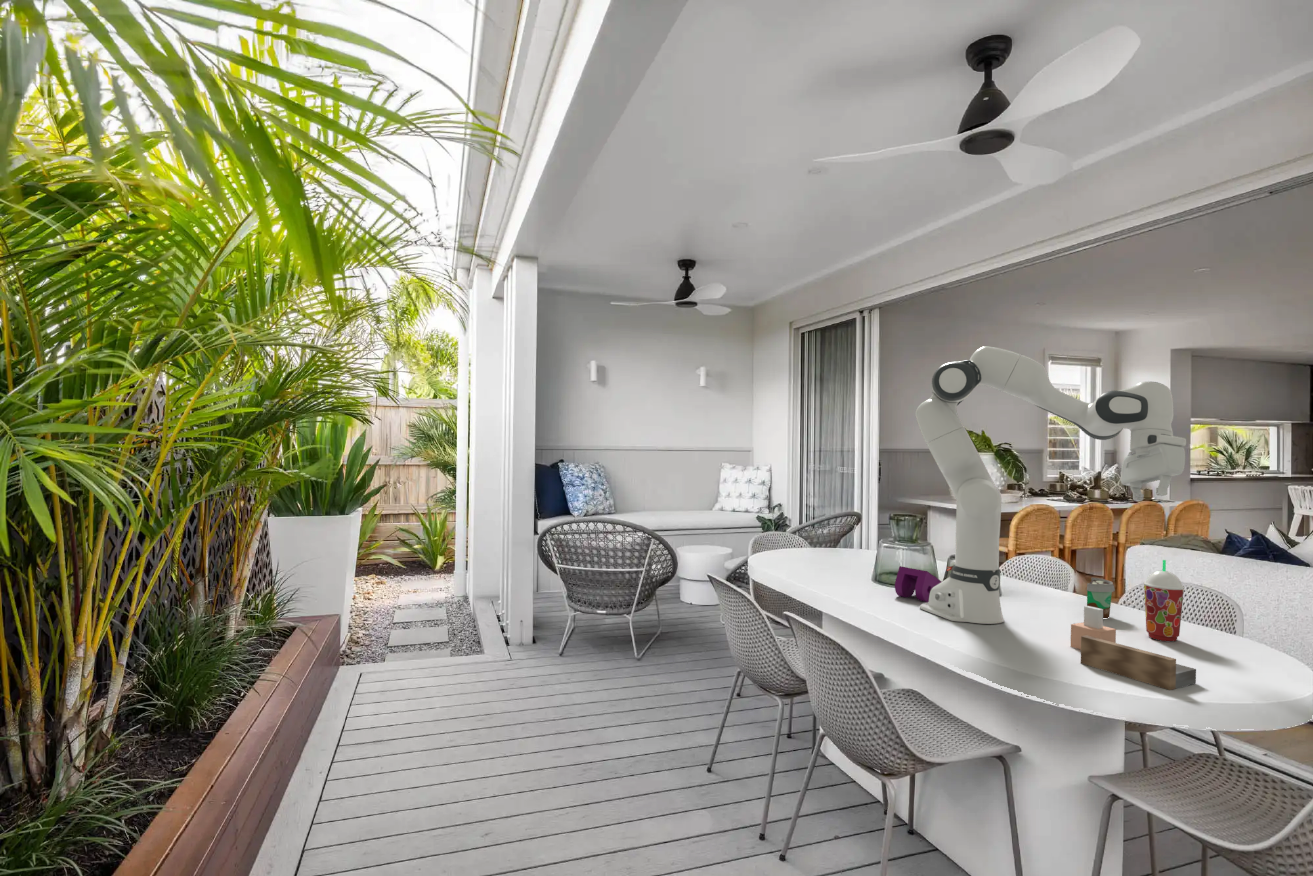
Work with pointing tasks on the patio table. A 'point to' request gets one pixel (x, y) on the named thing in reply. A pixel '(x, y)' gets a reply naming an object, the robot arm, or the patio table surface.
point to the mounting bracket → (915, 583)
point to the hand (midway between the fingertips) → (1149, 498)
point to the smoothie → (1163, 605)
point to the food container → (1100, 595)
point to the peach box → (1091, 627)
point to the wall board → (1135, 663)
